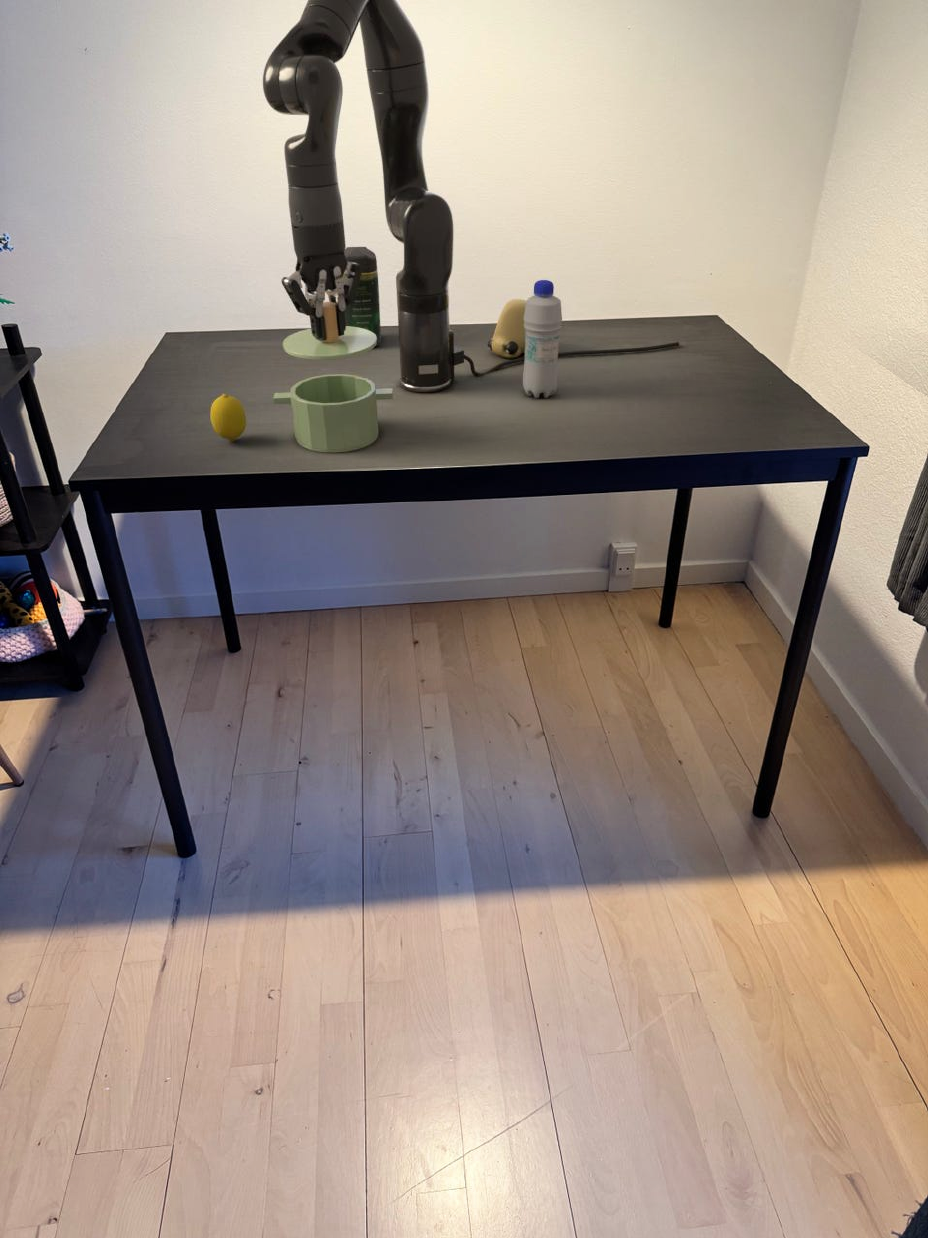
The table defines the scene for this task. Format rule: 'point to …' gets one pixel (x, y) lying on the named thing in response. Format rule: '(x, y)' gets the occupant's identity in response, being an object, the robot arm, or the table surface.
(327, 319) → the lid
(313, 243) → the robot arm
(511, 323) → the beige curved piece
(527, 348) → the bottle
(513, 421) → the table surface
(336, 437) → the pot
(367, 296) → the coffee jar
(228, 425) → the lemon
